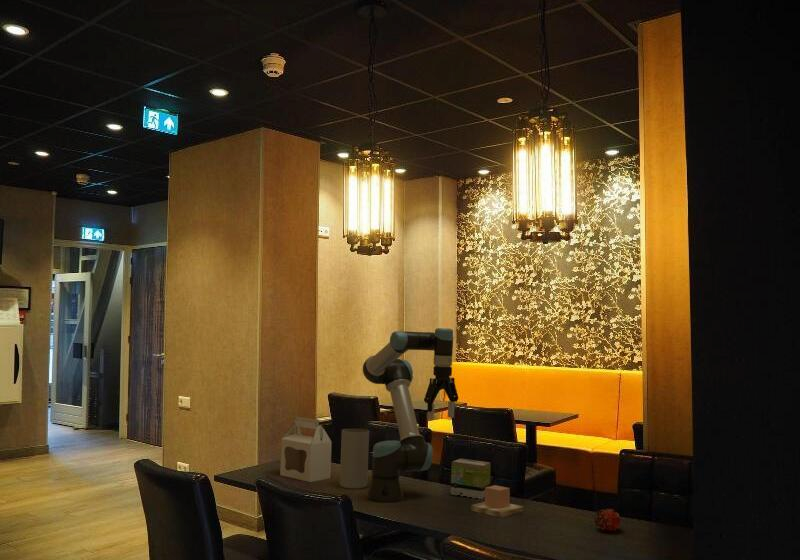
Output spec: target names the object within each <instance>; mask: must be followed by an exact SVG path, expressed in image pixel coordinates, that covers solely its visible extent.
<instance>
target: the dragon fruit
mask: <svg viewBox="0 0 800 560" xmlns="http://www.w3.org/2000/svg"><path fill="white" fill-rule="evenodd" d="M595 512H596V515H595V516H594V525H595V526H596V527H599V528H600V529H601V531H602V532H604V533H605V532H607V531H610V532H616V531H617V529H618V527H620V524H622V523H621V522H622V521H621V519H620V514H619V513H618V512H617V511H615V510H614V509H613V508H610V509H609V508H604V509H599V510H597V511H595Z"/></svg>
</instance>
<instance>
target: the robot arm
mask: <svg viewBox="0 0 800 560" xmlns="http://www.w3.org/2000/svg"><path fill="white" fill-rule="evenodd" d="M453 347H454V330H453V329H452V328H446V327H445V328H443V327H442V328H441V327H437V328H435V329H434V332H431V331H430V332H429V331H428V332H425V331H424V332H423V331H404V330H398V331H397V330H395V331H393V332H392V333H391V334H390V337H389V342H388V343H387V344H386V345H385V346H384V347H383V348H382V349H380V350H379V351H378V352H377V353H376V354H375V355H371V356H368V358H367V359H366V360H365V361H364V362H363V365H362V374H363V375H364V377H365V379H366V380H367V381H368V382H369V383H372V384H376V385H384V386H385V390H386V391H387V392H389V394H390V396H391V402H392V406H393V411H394V415H395V420H396V423H397V428H398V432H399V437H400V439H399V440H383V441H379V442H377V443H375V444H374V446H373V447H372V455H371V456H372V460H371V461H372V464H371V465H372V467H371V481H370V483H369V487H368V490H367V493H366V498H367V499H368V500H370V501H373V502H379V503H380V502H382V503H393V502H395V503H396V502H400V501H402V500H403V499H404V493H403V490H402V484H401V480H400V475H401V474H400V473H403V472H404V473H405V472H407V473H408V472H421V471H422V472H424V471H427V470H428V469H429V468H430V467H431V465H432V464H433V459H434V452H433V451H434V450H433V446H432V445H431V443H430V442H426V441H425V436H423V435H422V434H420V431H419V425H418V421H417V418H416V414H415V409H414V405H413V402H412V398H411V394H410V390H409V388H410V386H411V382H412V381H413V379H414V376H413V374H414V370H413V368H412V365H411V363H410V362H409V361H408V360H406V359H400V357H401V356H403V355H404V354H405V353H406V352H408V351H434V352H433V365H434V366H433V373H432V374H433V376H435V377H434V378H433V377H430V378H429V382H428V383H429V384H428V387H427V390H426V393H425V396H424V398H423V402H424V403H425V404H427V405H426V406H427V408H426V409H427V410H426V411H427V421H435V403H434V402H435V401H436V399H437V396H438V394H439V392H440V391H441V390H444V391H445V393H446V396H447V397H448V399H449V400H448V401H447V418H450V419H451V418H452V419H453V418H455V407H456V403H457V402H458V400H459V394H458V391H457V388H456V381H455V378H454V377H452V375H453V367H452V366H453V351H454V350H453V349H454V348H453Z"/></svg>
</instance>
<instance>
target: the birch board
mask: <svg viewBox="0 0 800 560" xmlns="http://www.w3.org/2000/svg"><path fill="white" fill-rule="evenodd" d="M524 509H525V506H523V505H518V504H513V503H510V504H509V506H508V507H504V508H501V509H498V508H493V507H489V506H485V501H482V502H480V503H479V502H477V503H474V504H471V505H470V511H472V512H476V513H479V514H484V515H489V516H492V517H493V516H494V517H497V518H502V519H503V518H504V519H505V518H507V517H510V515H511V516H514V515H517V514H516V513H518V514H520V513H519V512H521V513H523V512H522V511H524V512H525V510H524ZM513 514H514V515H513Z"/></svg>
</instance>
